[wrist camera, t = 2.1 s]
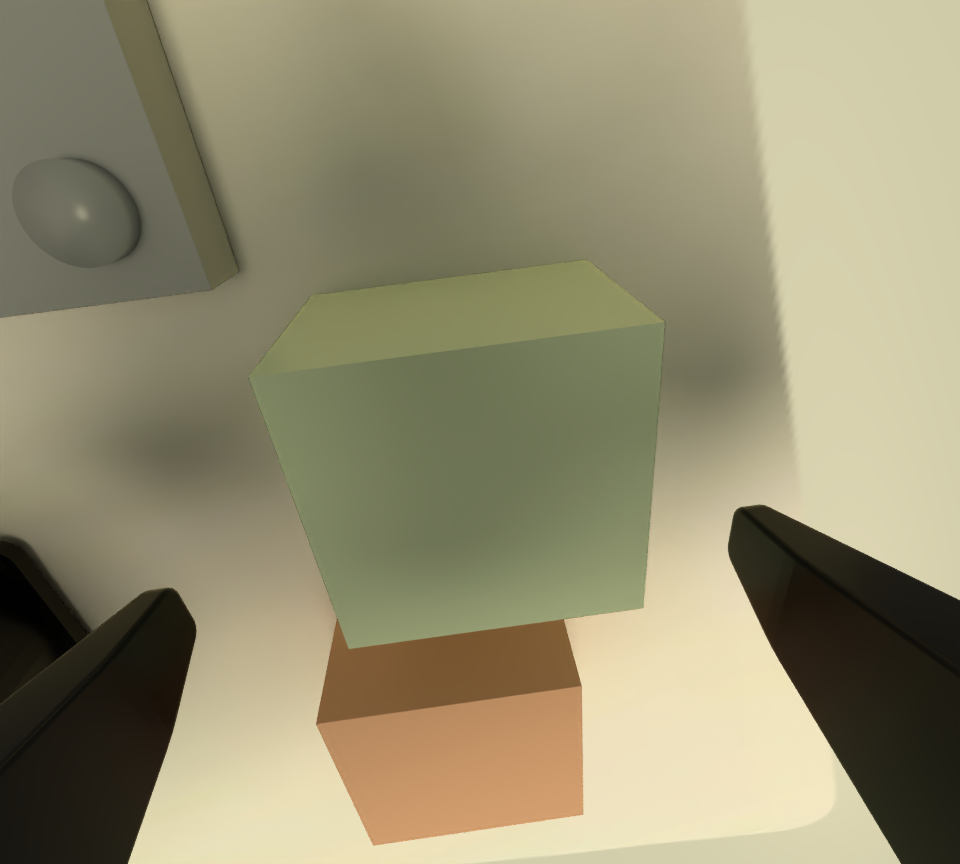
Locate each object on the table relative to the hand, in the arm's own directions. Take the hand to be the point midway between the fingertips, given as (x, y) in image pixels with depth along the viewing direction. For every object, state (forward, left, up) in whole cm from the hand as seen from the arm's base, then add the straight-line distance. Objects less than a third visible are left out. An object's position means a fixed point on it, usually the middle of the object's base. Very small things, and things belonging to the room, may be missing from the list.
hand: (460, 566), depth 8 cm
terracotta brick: (-8, +1, -5) cm, 10 cm away
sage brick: (0, 0, -5) cm, 5 cm away
